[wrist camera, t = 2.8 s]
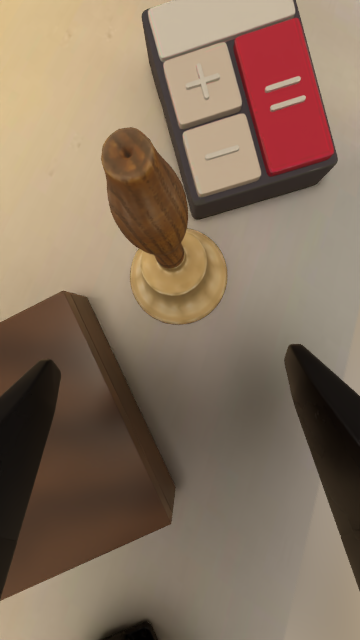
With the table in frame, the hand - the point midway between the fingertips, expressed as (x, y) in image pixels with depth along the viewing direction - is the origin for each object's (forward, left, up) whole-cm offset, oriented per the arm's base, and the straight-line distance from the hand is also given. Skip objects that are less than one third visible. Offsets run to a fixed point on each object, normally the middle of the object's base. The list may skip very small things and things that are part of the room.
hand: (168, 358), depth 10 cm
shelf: (-2, +13, -12) cm, 18 cm away
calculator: (+15, -12, -12) cm, 23 cm away
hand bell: (+5, -2, -12) cm, 13 cm away
